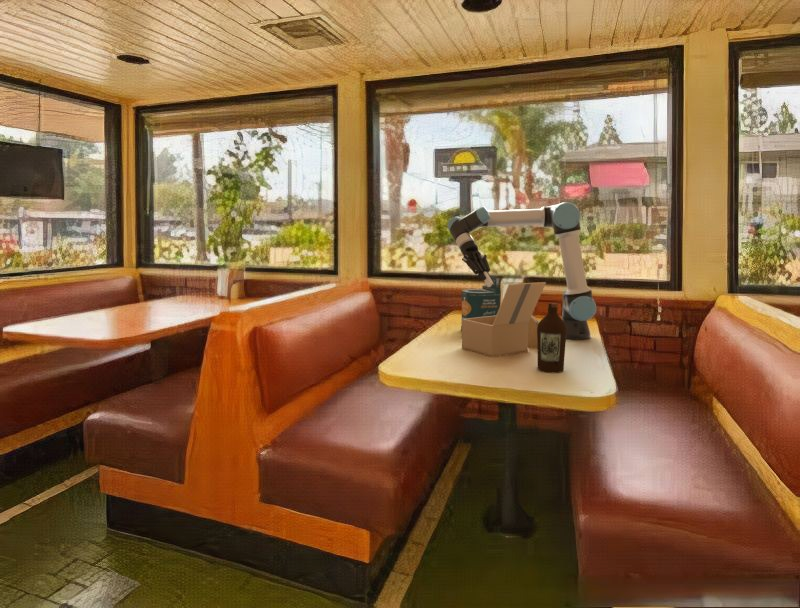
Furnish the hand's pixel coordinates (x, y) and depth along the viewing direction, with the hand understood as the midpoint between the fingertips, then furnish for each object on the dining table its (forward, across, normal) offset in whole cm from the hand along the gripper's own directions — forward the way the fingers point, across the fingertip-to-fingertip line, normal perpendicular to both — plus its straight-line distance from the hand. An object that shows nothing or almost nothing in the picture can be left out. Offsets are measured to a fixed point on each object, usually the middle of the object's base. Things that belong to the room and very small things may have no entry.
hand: (490, 284), depth 240 cm
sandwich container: (+27, -25, -14) cm, 39 cm away
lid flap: (+17, 0, +8) cm, 19 cm away
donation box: (-4, -22, -44) cm, 50 cm away
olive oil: (+49, +5, +9) cm, 50 cm away
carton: (+22, 0, -17) cm, 28 cm away
